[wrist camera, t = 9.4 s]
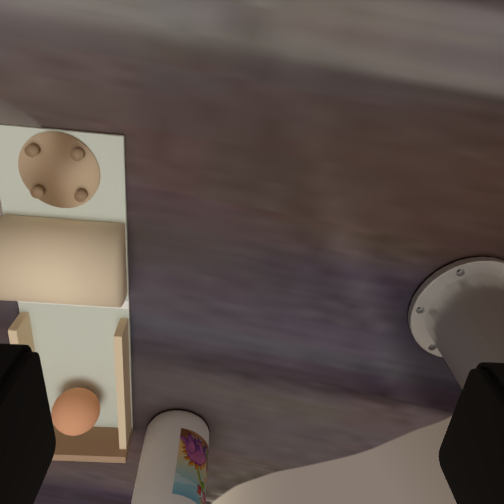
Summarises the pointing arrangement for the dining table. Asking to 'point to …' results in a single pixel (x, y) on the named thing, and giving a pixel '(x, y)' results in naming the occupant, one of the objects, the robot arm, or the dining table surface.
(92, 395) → the ball
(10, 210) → the lane
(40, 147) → the tee
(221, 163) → the dining table surface
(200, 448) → the milk bottle
